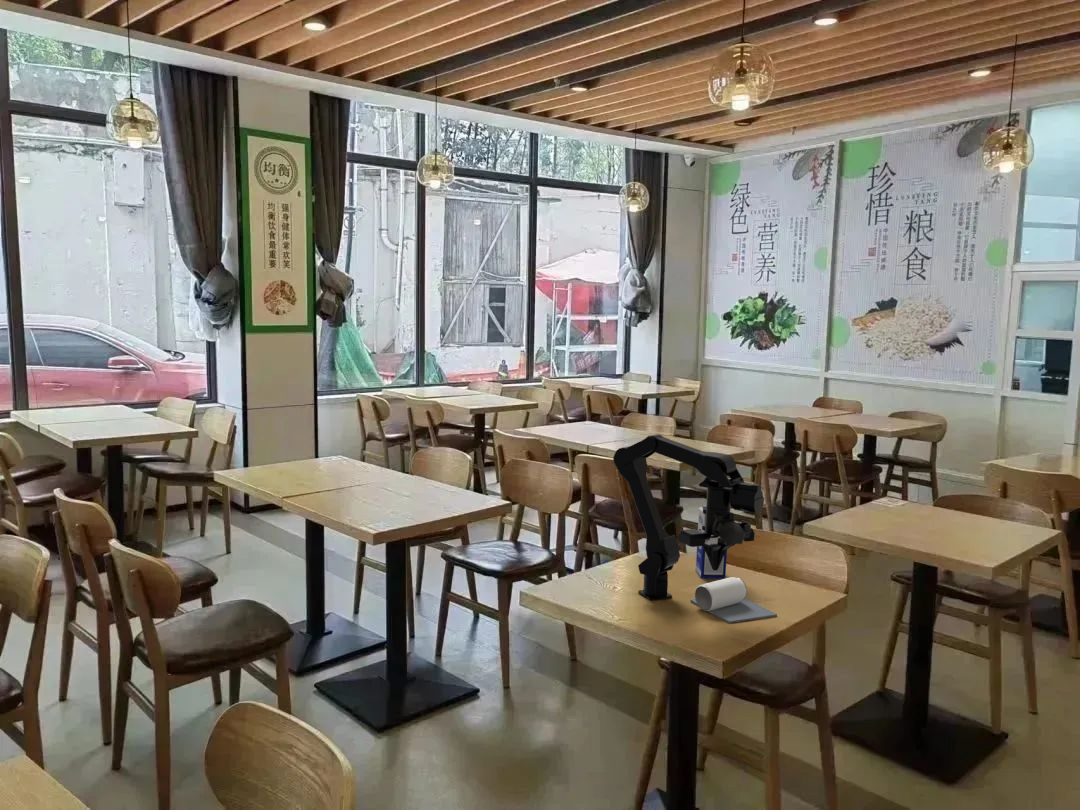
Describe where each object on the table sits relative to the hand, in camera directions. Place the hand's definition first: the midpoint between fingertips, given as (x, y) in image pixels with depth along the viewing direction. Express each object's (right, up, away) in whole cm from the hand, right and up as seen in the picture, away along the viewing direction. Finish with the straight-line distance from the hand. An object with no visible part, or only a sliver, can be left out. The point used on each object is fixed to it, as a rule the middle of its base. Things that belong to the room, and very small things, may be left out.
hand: (715, 570), depth 210 cm
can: (-3, -7, 0) cm, 7 cm away
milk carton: (+5, -7, +29) cm, 31 cm away
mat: (+5, -10, +2) cm, 11 cm away
